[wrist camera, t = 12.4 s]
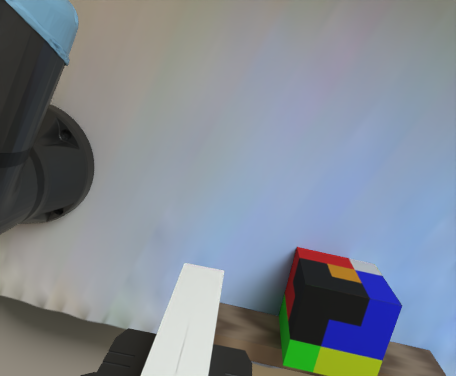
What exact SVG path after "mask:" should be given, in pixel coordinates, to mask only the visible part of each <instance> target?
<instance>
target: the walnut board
mask: <svg viewBox="0 0 456 376" xmlns="http://www.w3.org/2000/svg"><path fill="white" fill-rule="evenodd" d="M213 344H216V345H221V346H226V347H231V348H236V349H241V350H245V351H246V353H247V355H248V357H249V359H250V361H254V362H258V363H263V364H267V365H271V366H276V367H280V368H284V369H289V370H293V371H298V372H302V373H306V374H310V375H315V376H327V375H322V374H318V373H314V372H309V371H305V370H301V369H296V368H292V367H288V366H283V360H282V348H281V336H280V324H279V316H276V315H272V314H267V313H263V312H259V311H254V310H250V309H246V308H241V307H237V306H232V305H228V304H224V303H219V309H218V315H217V321H216V328H215V334H214V341H213ZM377 376H446V375H445V373H444V371H443V370H442V368H441V367H440V365H439V364H438V362H437V361H436V359H435V358H434V356H433V355H432V353H431V352H430V351H429V350H425V349H421V348H416V347H412V346H408V345H403V344H399V343H394V342H390V341H389V344H388V347H387V350H386V353H385V355H384V358H383V361H382V364H381V367H380V369H379V372H378V375H377Z"/></svg>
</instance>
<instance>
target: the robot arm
mask: <svg viewBox="0 0 456 376" xmlns="http://www.w3.org/2000/svg"><path fill="white" fill-rule="evenodd" d="M78 24H79V23H78V16H77V13H76V10H75V9H74V7H73V5H72V4H71V3H70V2H69V1H68V0H0V234H2V233H4V232H5V231H7V230H9V229H11V228H13V227H14V226H16V225H18V224H28V223H44V222H48V221H52V220H55V219H58V218H60V217H62V216H64V215H65V214H67V213H68V212H70V211H72V210H73V209H74V208H76V207H77V206H78V205H79V204H80V203H81V202H82V201H83V200H84V198H85V197H86V195H87V194H88V192H89V190H90V187H91V184H92V181H93V176H94V158H93V153H92V149H91V146H90V143H89V141H88V139H87V137H86V135H85V133H84V132H83V130H82V129H81V128H80V126H79V125H78V124H77V123H76V122H75V121H74V119H72V118H71V117H70V116H69V115H68V114H67V113H65V112H64V111H62V110H61V109H59V108H57V107H55V106H53V105H50V101H51V99H52V96H53V94H54V91H55V89H56V86H57V84H58V81H59V79H60V76H61V74H62V71H63V69H64V66H65V65H66V66H68V64H69V57H68V56H69V53H70V50H71V47H72V44H73V42H74V39H75V36H76V33H77V30H78ZM223 276H224V271H223V270H218V269H213V268H208V267H203V266H198V265H193V264H188V263H184V265H183V268H182V271H181V273H180V276H179V278H178V281H177V283H176V286H175V289H174V291H173V294H172V296H171V299H170V301H169V304H168V307H167V309H166V312H165V314H164V317H163V319H162V322H161V325H160V327H159V330H158V332H157V334H154V333H149V332H144V331H139V330H134V329H129V328H128V329H127V330H126V331H124V332H123V333H122V334H120V335H119V336H117V337H116V338H115V340H114V342H113V344H112V345H111V347H110V349H109V352H108V353H107V355H106V357H105V358H104V360H103V363H102V364H101V366H100V367H99V369H98V371H97V372H93V373H89V374H85V375H81V376H252V363H251V361H250V359H249V357H248V355H247V353H246V351H245V350H241V349H236V348H231V347H226V346H221V345H216V344H213V341H214V334H215V328H216V321H217V315H218V309H219V302H220V296H221V289H222V283H223Z"/></svg>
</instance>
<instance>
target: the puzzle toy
mask: <svg viewBox="0 0 456 376" xmlns="http://www.w3.org/2000/svg"><path fill="white" fill-rule="evenodd" d="M401 308H402V305H401V303H400V302H399V300H398V299H397V297H396V296H395V294H394V293H393V291H392V290H391V288H390V287H389V285H388V284H387V282H386V281H385V279H384V278H383V276H382V274H381V273H380V271H379V270H378V268H377V267H376V265H375V264H372V263H367V262H363V261H358V260H354V259H349V258H345V257H340V256H336V255H331V254H327V253H322V252H318V251H313V250H309V249H304V248H300V247H297V249H296V253H295V256H294V260H293V264H292V268H291V271H290V275H289V279H288V283H287V286H286V290H285V294H284V297H283V301H282V305H281V309H280V312H279V324H280V336H281V348H282V360H283V366H288V367H292V368H296V369H301V370H305V371H309V372H314V373H318V374H322V375H327V376H377V375H378V372H379V369H380V367H381V364H382V361H383V358H384V355H385V353H386V350H387V347H388V344H389V341H390V339H391V336H392V333H393V330H394V327H395V325H396V322H397V319H398V316H399V313H400V310H401Z"/></svg>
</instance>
